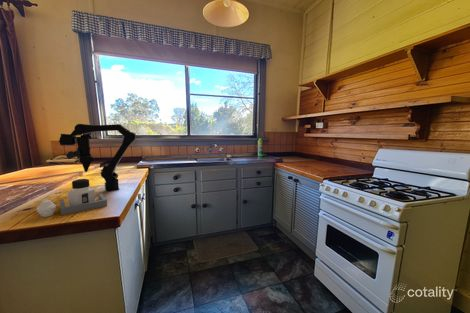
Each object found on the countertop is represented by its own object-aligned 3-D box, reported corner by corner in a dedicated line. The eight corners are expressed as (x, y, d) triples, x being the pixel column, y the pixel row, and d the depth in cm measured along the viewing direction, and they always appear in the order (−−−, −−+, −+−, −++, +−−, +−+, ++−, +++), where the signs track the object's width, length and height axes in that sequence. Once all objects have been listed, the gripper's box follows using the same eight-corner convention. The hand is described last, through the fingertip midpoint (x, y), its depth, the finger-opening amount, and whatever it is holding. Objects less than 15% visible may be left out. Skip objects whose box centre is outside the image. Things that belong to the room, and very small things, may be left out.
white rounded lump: (60, 212, 87) (59, 197, 86) (48, 218, 81) (46, 202, 80) (46, 212, 87) (44, 197, 86) (33, 218, 81) (30, 202, 80)
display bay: (102, 198, 105) (101, 193, 105) (107, 205, 96) (106, 199, 95) (60, 206, 94) (59, 200, 94) (61, 215, 84) (60, 208, 84)
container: (96, 203, 98) (94, 178, 96) (78, 209, 91) (76, 182, 89) (86, 201, 101) (84, 177, 99) (68, 206, 93) (66, 180, 92)
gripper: (64, 145, 115) (67, 171, 117) (66, 147, 101) (69, 176, 103) (88, 144, 122) (90, 168, 124) (92, 146, 109) (94, 173, 111)
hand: (86, 171), depth 115 cm, fingers closed
